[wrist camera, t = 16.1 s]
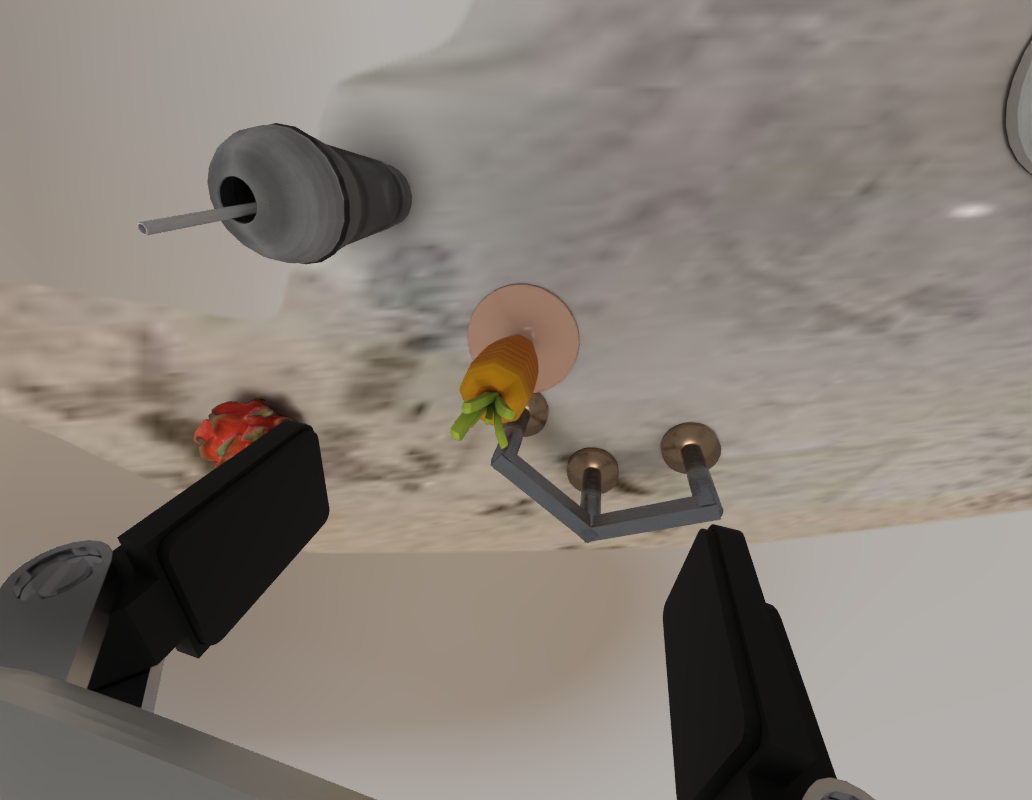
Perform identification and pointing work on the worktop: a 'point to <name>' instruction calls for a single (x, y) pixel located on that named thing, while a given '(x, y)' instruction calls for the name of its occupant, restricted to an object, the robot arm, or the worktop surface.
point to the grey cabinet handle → (614, 480)
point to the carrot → (498, 386)
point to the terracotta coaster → (528, 328)
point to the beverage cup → (295, 195)
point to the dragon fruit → (234, 428)
